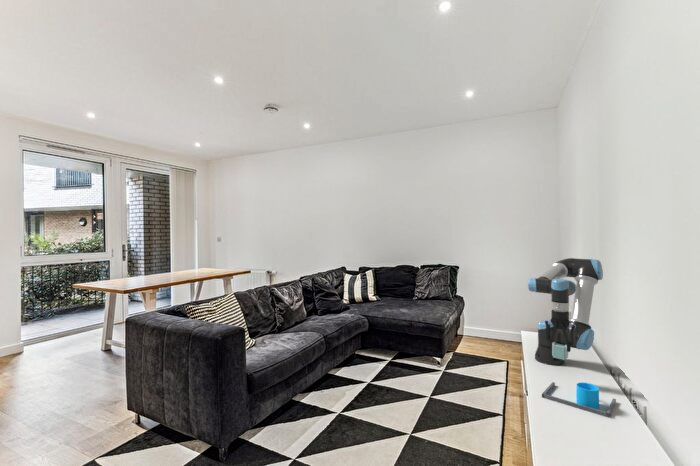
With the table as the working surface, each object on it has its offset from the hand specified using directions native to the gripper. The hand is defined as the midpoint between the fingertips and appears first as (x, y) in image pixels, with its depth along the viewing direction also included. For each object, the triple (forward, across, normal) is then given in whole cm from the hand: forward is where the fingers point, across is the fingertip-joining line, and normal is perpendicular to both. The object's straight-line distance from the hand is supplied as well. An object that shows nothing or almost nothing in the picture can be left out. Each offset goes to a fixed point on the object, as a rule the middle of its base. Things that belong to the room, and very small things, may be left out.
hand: (560, 356), depth 176 cm
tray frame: (+13, +11, -16) cm, 23 cm away
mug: (+13, +15, -16) cm, 25 cm away
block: (0, 0, 0) cm, 1 cm away
